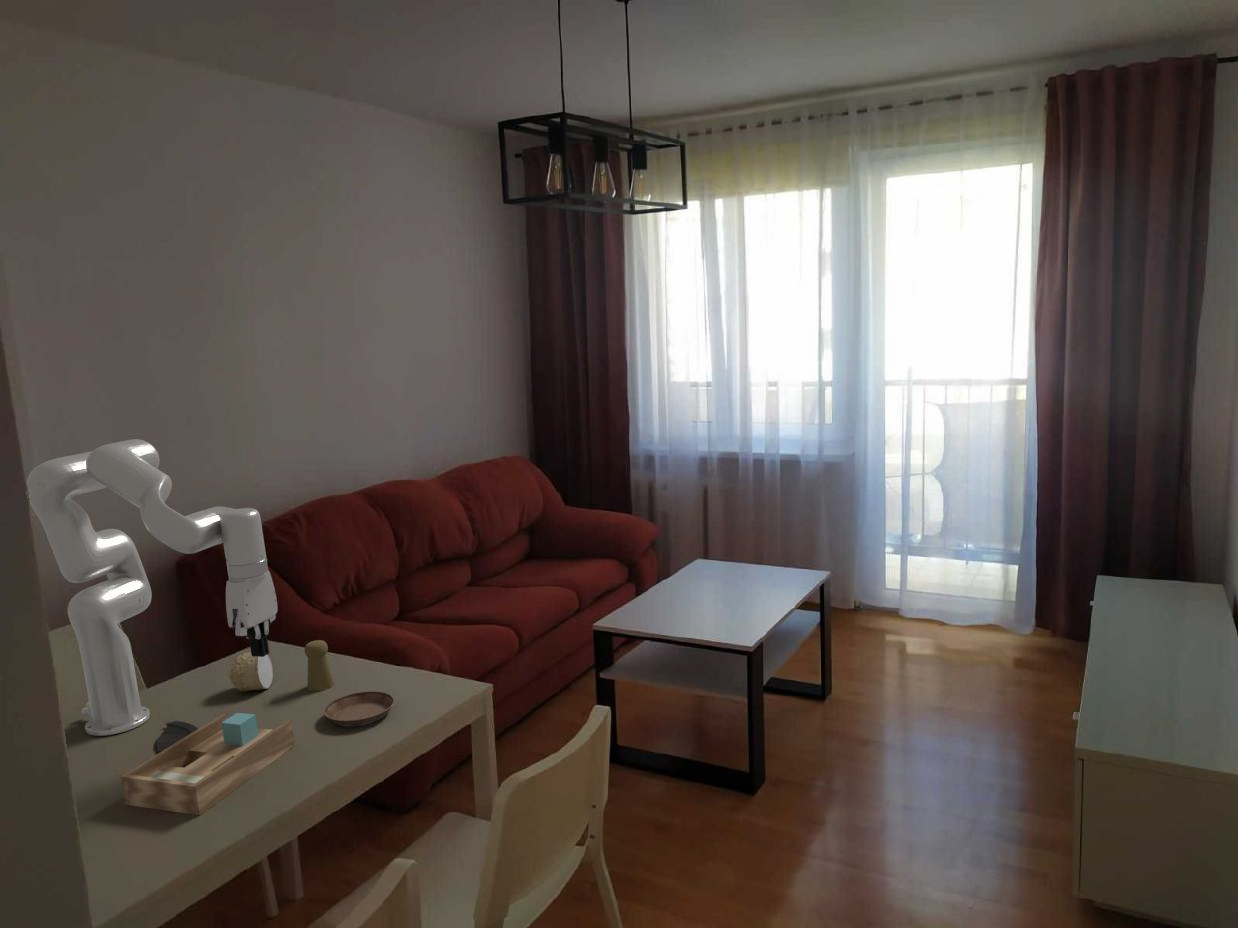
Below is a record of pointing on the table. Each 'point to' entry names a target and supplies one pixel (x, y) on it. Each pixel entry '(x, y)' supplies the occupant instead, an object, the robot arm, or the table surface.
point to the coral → (251, 672)
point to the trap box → (202, 768)
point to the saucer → (359, 708)
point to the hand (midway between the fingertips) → (260, 654)
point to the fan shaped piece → (174, 734)
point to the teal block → (240, 729)
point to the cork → (318, 666)
